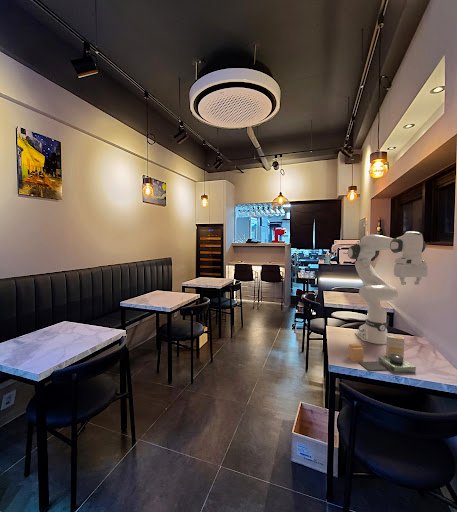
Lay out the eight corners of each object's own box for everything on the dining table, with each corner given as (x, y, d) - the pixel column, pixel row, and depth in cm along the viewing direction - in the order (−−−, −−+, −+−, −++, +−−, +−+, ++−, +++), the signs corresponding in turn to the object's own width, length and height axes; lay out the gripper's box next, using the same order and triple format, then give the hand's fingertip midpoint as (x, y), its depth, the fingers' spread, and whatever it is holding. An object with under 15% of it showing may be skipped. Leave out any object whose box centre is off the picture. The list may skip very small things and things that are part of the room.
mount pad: (358, 362, 140) (358, 361, 140) (376, 362, 141) (376, 361, 141) (368, 371, 131) (368, 369, 131) (388, 370, 132) (388, 369, 132)
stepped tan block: (348, 357, 146) (349, 344, 146) (358, 357, 147) (359, 343, 146) (353, 360, 142) (353, 347, 141) (363, 360, 142) (363, 347, 142)
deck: (377, 361, 141) (378, 351, 141) (397, 361, 142) (398, 351, 142) (393, 372, 129) (394, 361, 129) (415, 372, 130) (416, 361, 130)
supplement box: (401, 358, 147) (403, 336, 146) (403, 361, 143) (405, 339, 142) (385, 355, 150) (386, 333, 150) (386, 358, 146) (388, 336, 145)
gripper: (420, 260, 145) (419, 283, 146) (392, 259, 140) (390, 284, 141) (431, 261, 139) (430, 285, 140) (402, 260, 134) (400, 286, 135)
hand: (410, 284), depth 140 cm, fingers open, 8 cm apart
